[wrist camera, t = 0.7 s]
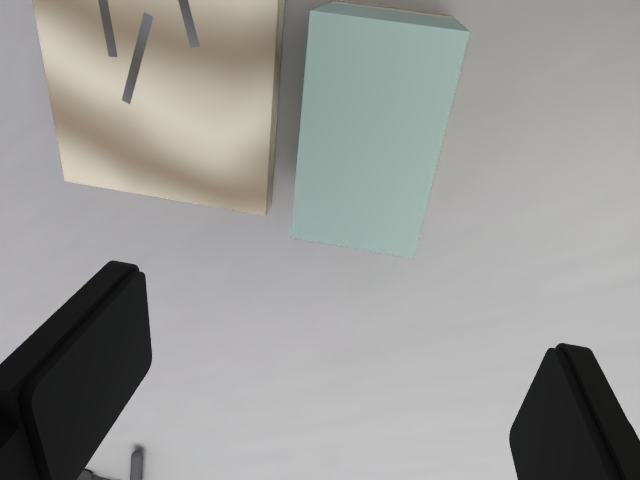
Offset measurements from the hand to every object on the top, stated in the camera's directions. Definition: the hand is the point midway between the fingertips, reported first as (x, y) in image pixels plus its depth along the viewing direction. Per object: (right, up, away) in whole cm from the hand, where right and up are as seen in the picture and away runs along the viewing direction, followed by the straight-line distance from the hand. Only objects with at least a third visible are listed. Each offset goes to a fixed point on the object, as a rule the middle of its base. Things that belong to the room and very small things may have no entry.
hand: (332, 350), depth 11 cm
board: (-9, +14, +14) cm, 22 cm away
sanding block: (+3, +10, +15) cm, 18 cm away
